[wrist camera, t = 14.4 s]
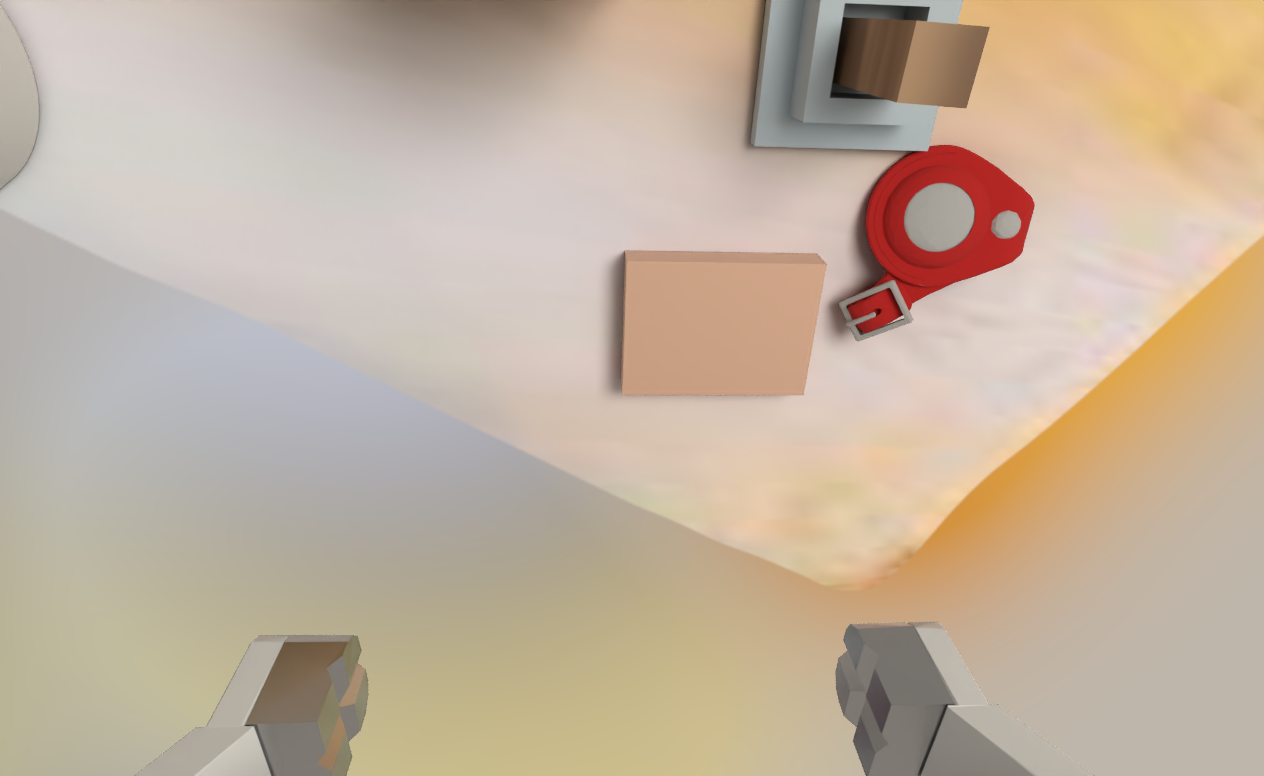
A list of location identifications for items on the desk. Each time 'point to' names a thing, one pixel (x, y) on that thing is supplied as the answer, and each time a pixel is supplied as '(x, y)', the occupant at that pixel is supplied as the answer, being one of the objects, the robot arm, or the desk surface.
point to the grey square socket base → (803, 73)
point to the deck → (718, 322)
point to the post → (909, 60)
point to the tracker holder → (936, 231)
